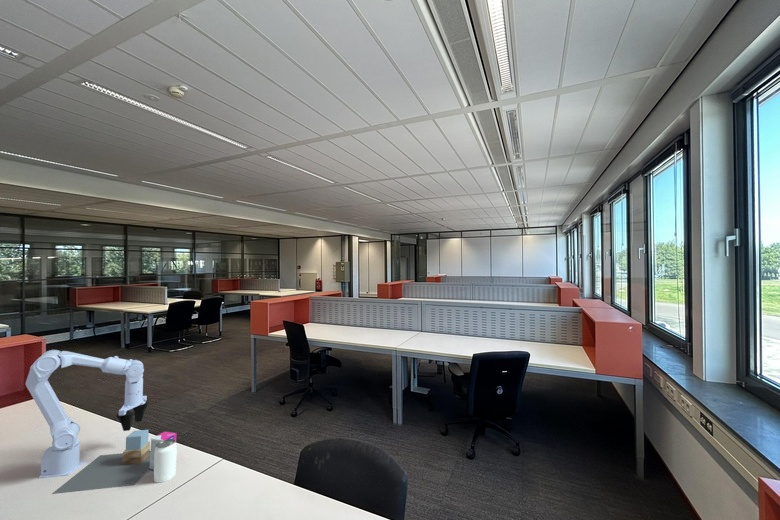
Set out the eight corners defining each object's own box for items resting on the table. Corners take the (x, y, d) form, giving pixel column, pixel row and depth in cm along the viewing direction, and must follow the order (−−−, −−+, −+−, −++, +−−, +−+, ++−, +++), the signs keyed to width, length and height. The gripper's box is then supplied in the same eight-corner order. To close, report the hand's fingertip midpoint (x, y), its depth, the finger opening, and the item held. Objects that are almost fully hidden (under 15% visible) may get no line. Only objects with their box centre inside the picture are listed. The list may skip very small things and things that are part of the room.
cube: (125, 450, 119) (126, 437, 119) (133, 443, 124) (134, 430, 124) (140, 449, 120) (140, 436, 120) (148, 442, 125) (148, 429, 125)
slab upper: (122, 458, 118) (122, 451, 119) (132, 449, 124) (132, 443, 124) (140, 456, 120) (140, 450, 120) (149, 448, 125) (149, 441, 126)
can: (180, 473, 114) (181, 440, 114) (162, 485, 108) (163, 449, 108) (167, 470, 116) (168, 436, 116) (149, 481, 110) (150, 446, 110)
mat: (51, 494, 103) (51, 493, 103) (100, 456, 125) (100, 455, 125) (134, 485, 108) (134, 485, 108) (167, 449, 129) (167, 449, 129)
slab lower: (122, 465, 118) (122, 458, 118) (132, 456, 124) (132, 449, 124) (140, 463, 119) (140, 456, 120) (149, 454, 125) (149, 448, 125)
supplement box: (162, 472, 115) (163, 440, 115) (148, 470, 116) (149, 438, 116) (176, 463, 120) (176, 432, 121) (163, 461, 122) (164, 430, 122)
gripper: (133, 398, 122) (132, 433, 122) (154, 384, 137) (154, 416, 136) (113, 399, 121) (111, 435, 121) (136, 385, 135) (135, 418, 135)
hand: (132, 425), depth 128 cm, fingers open, 7 cm apart
